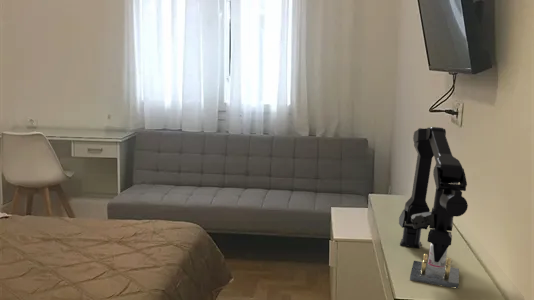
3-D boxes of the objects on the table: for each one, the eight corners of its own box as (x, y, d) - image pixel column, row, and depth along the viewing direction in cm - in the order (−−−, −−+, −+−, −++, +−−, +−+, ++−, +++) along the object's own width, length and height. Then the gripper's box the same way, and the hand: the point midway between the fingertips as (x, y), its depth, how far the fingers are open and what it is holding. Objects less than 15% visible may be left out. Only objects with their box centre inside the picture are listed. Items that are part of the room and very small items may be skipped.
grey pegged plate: (413, 265, 179) (415, 249, 178) (458, 273, 175) (460, 257, 174) (409, 279, 166) (411, 262, 166) (458, 288, 163) (460, 271, 162)
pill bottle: (426, 262, 173) (430, 234, 171) (443, 263, 172) (446, 236, 171) (429, 267, 168) (432, 239, 167) (446, 269, 168) (450, 241, 166)
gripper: (417, 195, 178) (410, 244, 181) (412, 209, 161) (405, 264, 164) (455, 201, 175) (448, 251, 178) (455, 216, 158) (447, 271, 160)
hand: (436, 259), depth 170 cm, fingers closed on pill bottle, 5 cm apart
